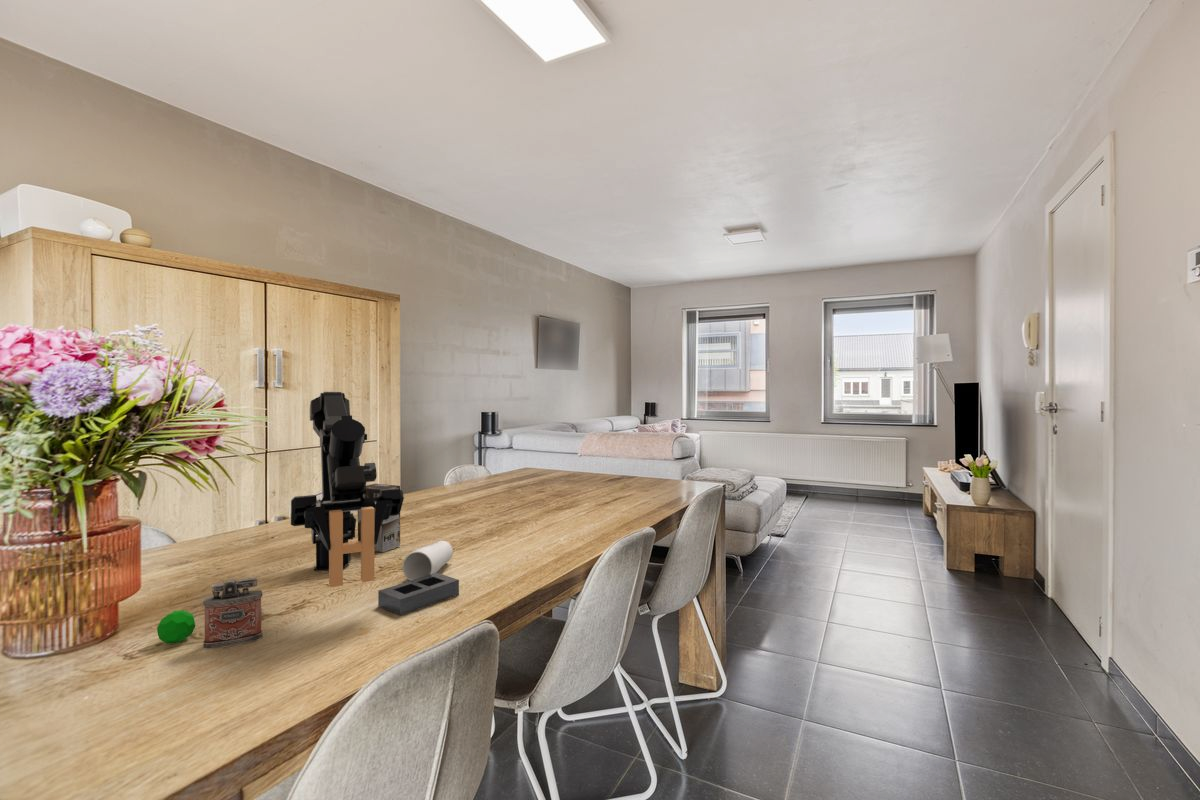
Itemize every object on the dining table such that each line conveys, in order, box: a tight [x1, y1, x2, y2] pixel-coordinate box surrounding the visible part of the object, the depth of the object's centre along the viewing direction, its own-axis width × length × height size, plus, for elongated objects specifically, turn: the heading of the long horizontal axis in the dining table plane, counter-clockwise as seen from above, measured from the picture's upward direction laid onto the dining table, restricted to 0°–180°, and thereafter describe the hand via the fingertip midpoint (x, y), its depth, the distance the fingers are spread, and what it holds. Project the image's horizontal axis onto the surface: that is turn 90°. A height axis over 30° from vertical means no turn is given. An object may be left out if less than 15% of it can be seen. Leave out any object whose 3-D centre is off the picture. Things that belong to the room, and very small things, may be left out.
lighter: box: [202, 577, 264, 650], centre depth 89 cm, size 8×3×10 cm, turn 117°
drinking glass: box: [402, 540, 454, 581], centre depth 123 cm, size 7×7×15 cm
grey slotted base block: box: [377, 572, 460, 617], centre depth 107 cm, size 13×7×3 cm, turn 143°
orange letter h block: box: [328, 507, 375, 588], centre depth 98 cm, size 7×2×13 cm, turn 121°
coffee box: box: [357, 483, 401, 553], centre depth 143 cm, size 9×6×16 cm
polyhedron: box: [156, 610, 196, 645], centre depth 89 cm, size 5×5×5 cm
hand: (353, 546), depth 97 cm, fingers closed on orange letter h block, 7 cm apart
